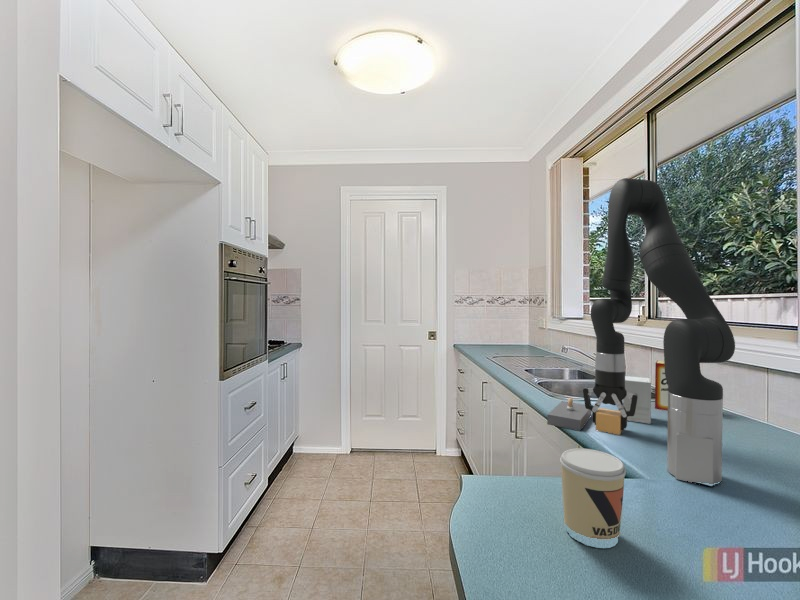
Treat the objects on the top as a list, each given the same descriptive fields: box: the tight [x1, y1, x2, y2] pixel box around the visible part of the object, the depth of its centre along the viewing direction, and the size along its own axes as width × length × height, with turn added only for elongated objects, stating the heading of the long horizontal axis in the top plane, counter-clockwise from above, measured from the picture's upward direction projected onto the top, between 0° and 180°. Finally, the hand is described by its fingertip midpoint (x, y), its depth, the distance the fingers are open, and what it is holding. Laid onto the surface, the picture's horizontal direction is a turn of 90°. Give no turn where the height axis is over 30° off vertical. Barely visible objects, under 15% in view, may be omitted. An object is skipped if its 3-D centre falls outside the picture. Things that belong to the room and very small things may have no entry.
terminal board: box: [546, 397, 592, 432], centre depth 118 cm, size 18×9×6 cm, turn 144°
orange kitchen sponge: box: [595, 407, 623, 436], centre depth 109 cm, size 6×6×5 cm
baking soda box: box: [654, 359, 668, 412], centre depth 130 cm, size 10×6×16 cm
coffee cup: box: [559, 447, 627, 539], centre depth 61 cm, size 9×9×12 cm
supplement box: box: [622, 375, 652, 425], centre depth 119 cm, size 7×7×13 cm
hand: (609, 426), depth 109 cm, fingers closed on orange kitchen sponge, 6 cm apart
